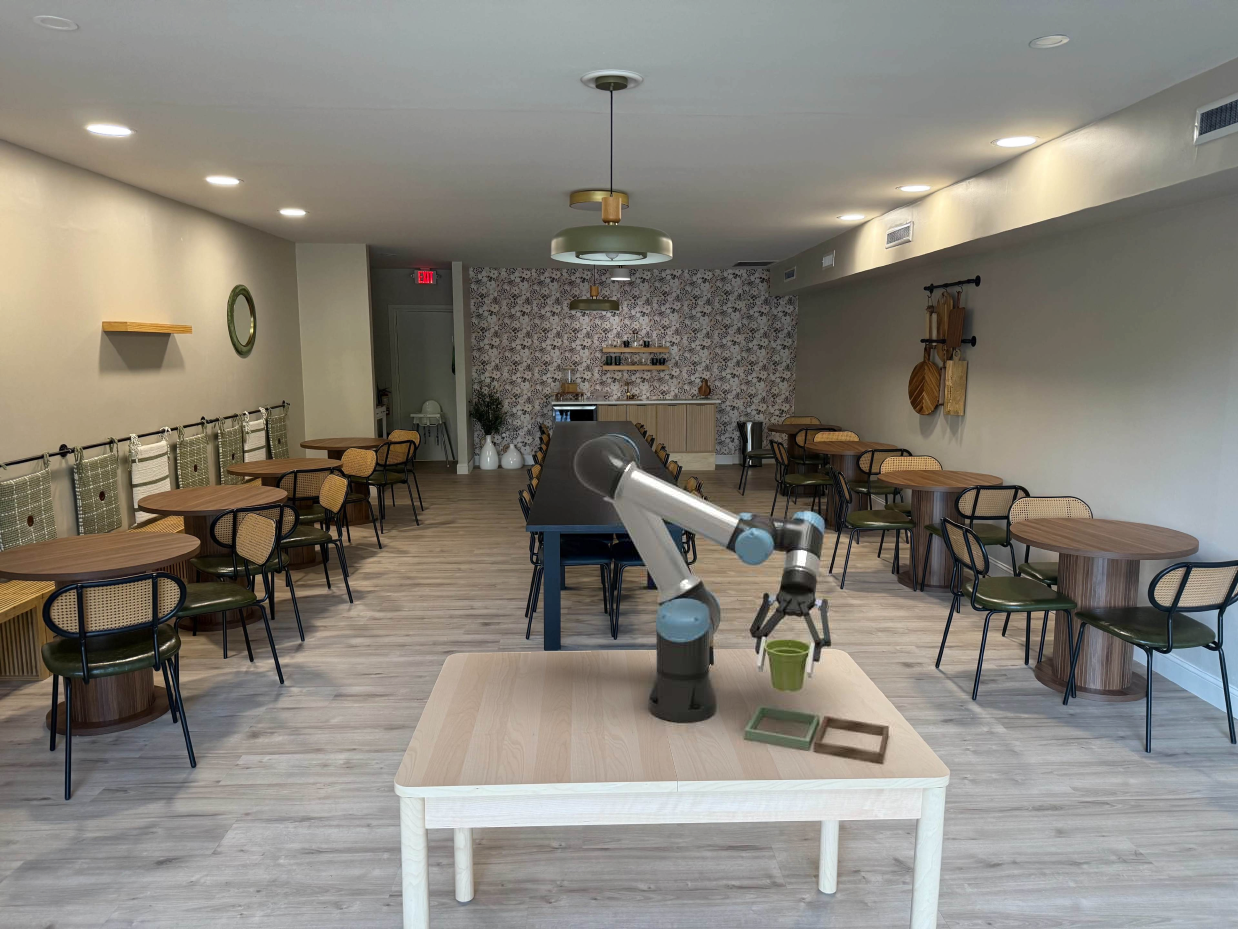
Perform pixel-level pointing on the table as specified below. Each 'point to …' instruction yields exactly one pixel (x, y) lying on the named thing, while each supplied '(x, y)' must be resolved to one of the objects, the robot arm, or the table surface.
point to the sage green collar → (778, 738)
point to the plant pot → (787, 663)
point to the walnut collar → (847, 750)
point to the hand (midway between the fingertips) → (784, 671)
